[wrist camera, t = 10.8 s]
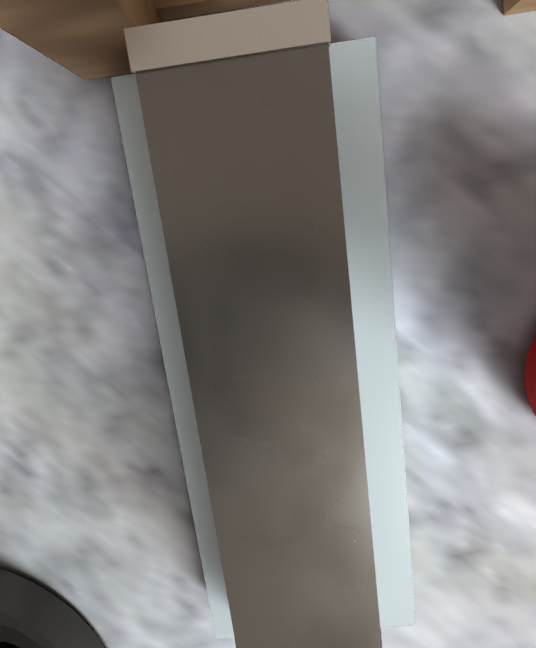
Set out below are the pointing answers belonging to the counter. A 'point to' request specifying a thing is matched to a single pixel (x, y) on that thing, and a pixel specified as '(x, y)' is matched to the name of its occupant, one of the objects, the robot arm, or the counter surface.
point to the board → (368, 320)
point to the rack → (113, 26)
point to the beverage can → (531, 375)
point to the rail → (265, 312)
